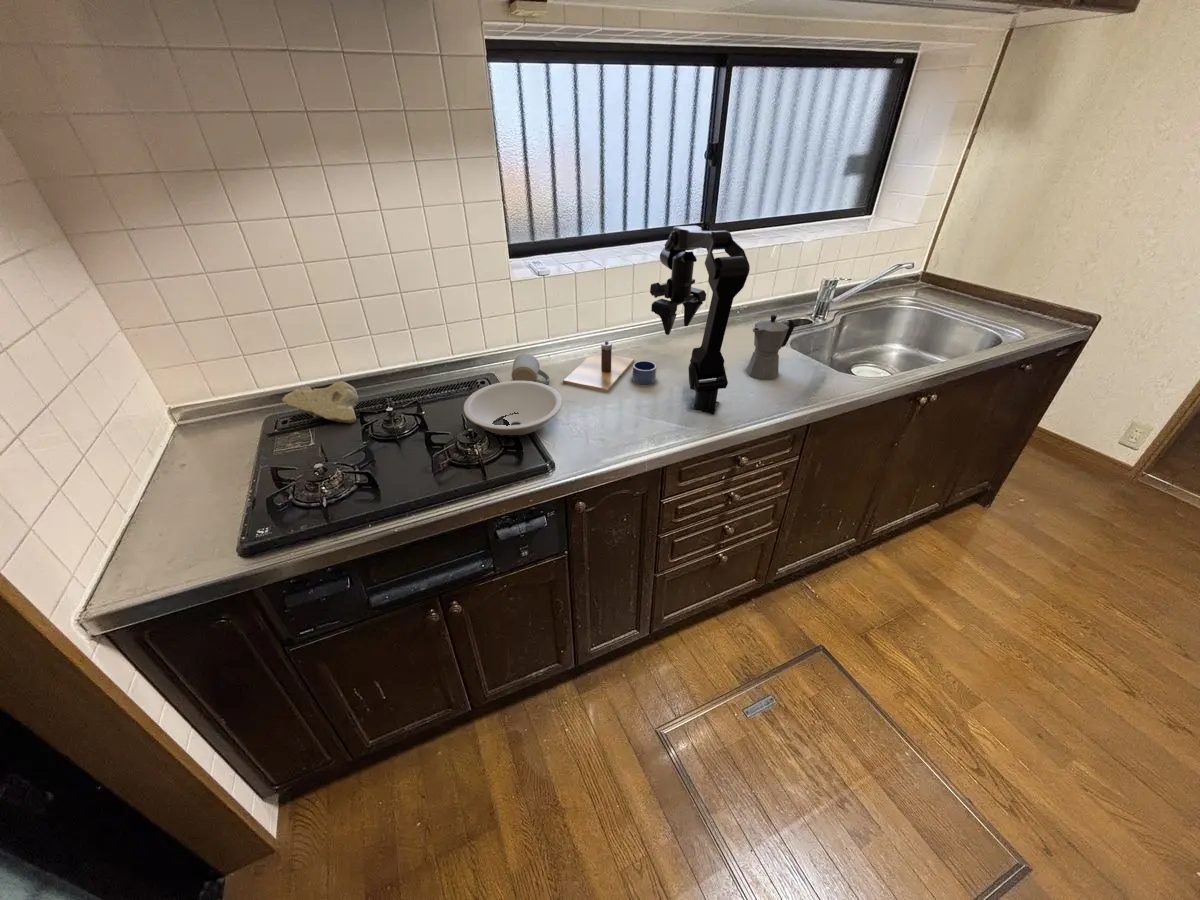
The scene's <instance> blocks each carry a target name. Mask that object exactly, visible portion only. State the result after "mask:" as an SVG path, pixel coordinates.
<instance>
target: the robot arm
mask: <svg viewBox="0 0 1200 900" xmlns="http://www.w3.org/2000/svg"><path fill="white" fill-rule="evenodd" d="M696 249H697V250H698V249H706V251H707V253H706V257H705V261H704V267H705V269H706V271H707V272H706V273H707V275H708V280H707V282H708V284H709V287H710V289H711V292H712V293H711V299H710V302H709V303H710V304H709V309H708V313H707V317H706V321H705V327H704V332H703V336H702V341H701V345H700V346H699V347H694V348H693V349H692V351H691V356H690V360H689V362H690V363H689V364H688V383H689V384H688V385H689V388H690V390H693V391H694V392H695V394H694V399H693V402H692V404H691V405H690V410H693V411H699V412H701V413H705V414H709V415H715V414H716V411H717V409H718V407H719V405H720V402H719V401H718V395H719V394H718V393H719V390H721V389H722V390H723V389H727V387H728V384H729V381H728V376H727V373H726V369H725V359H724V356H723V354H722V352H721V351H722V346H723V342H724V338H725V335H726V331H727V330H726V329H727V327H728V322H729V319H730V318H729V317H730V314H731V310H732V307H733V302H734V298H735V297H736V296H737V295H738V294H739V293H740V292H741V291H742V290H743V288H744V287H745V284H746V283H747V280H748V276H749V274H750V270H751V268H750V267H751V266H750V263H749V261H748V258H747V255H746V252H745V250H744V249H743V247H742V246H740V244H738V243H737V242H736V241H735V240H734V239H733V236H732V234H731V231H728V230H703V228H702V227H701V226H699V225H679V226H674V227H673V228H672V230H671V232H670V233H669V236H668V238H667V240H666V242H665V243H664V247H663V249H661V251H660V253H659V260H660V262H661V264H662V265H663V266H665V267H666V268H667V269H669V270H670V271H671V277H670V278H668V279H666V282H663V283H660V282H653V283H651V284H650V288H649V293H650V295H651V296H653V297H654V299H657V298H658V297H664V298H659V299H657V300H655V301H653V302H652V303H651V307H650V310H651V312H652V313H654V314H655V315H657V316H659V317H660V320H661V324H662V327H663V331H664V334H665V335H666V336H669V335H671V331H672V329H673V327H674V326H673V325H674V323H675V320H676V318H677V316H678V314H677V310H678V306H680V305H682V306H683V326H684V327H689V325H690V323H691V322H692V320H693V318H694V316H695V315H696V314H697V312H698V311H699V309H700V307H701V306H702V305H703V304H704V302H705V301H706V300H707V292H706V291H705V290H704V289H701V288H696V287H693V286H692V285H694V284H696V279H695V278H693V274H694V266H695V263H696V262H697V261H698V259H697V257H696V255H695V253H694V250H696ZM718 250H723V251H724V252H725V253H726V254H727V255H728V256H720V257H715V255H714V253H713V252H714V251H718ZM668 299H669V300H668Z"/></svg>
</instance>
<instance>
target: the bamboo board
mask: <svg viewBox="0 0 1200 900" xmlns="http://www.w3.org/2000/svg"><path fill="white" fill-rule="evenodd" d="M634 363H635V358H632V357H626V356H625V357H624V356H620V355H615V354H614V355H613V354H612V358H611V372H608V373H605V372H602V371H601V352H596V351H593V352H592V353H590V355H588V357H586V358H585V359H584V360H583V361H582V362H581V363H580V364H579V365H577V367H576V368H575V369H573V371H572V372H570V373H569V374H568V375H567V376H566V377H565V378H564V379H563V380H562V383H563V385H566V384H567V385H573V386H578V387H583V388H588V389H592V390H597V391H603V392H606V393H607V392H609V391H610V390H611V389H612V387H614V385H615V384H616V383H617V382H618V381H619V380H620V378H621V377H622V376H623V375H624V374H625V372H626V371H627V370H628V369H629V368H630V367H631V365H633V364H634Z"/></svg>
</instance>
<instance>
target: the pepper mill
mask: <svg viewBox="0 0 1200 900" xmlns="http://www.w3.org/2000/svg"><path fill="white" fill-rule="evenodd" d="M612 348H613V343H612V342H611V341H608V340H605V341H602V342H601V343H600V349H601V350H600V351H601V352H600V353H601V371H602V372H605V373H608V372H611V358H612V355H613V354H612V353H613V350H612Z"/></svg>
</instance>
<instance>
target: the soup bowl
mask: <svg viewBox="0 0 1200 900" xmlns="http://www.w3.org/2000/svg"><path fill="white" fill-rule="evenodd" d="M562 406H563V399H562V395H561V394H560V393H559V391H557V390H556V389H555V388H553V387H552V386H549V385H548V384H547V385H545V384H542V383H538V382H532V381H513V380H508V381H500V382H496V383H493V384H489V385H486V386H484V387H481V388H479V389H477V390H476V391H474V392H473V393H471V394H470V395H469V396H468V397H467V399H466V400H465V401H464V404H463V413H464V416H465V417H466V418H467V419H468V420H469V421H470V422H471V423H473V424H475V425H477V426H479V427H481V428H482V429H484V430H485V431H487V432H490V433H492V434H494V433H495V434H494V435H498V434H499V436H503V435H519V436H524V435H528V434H532V433H533V432H536V431H537V430H539V429H541V428H542V427H544V426H545V425H546V424H548V422H549V421H550V420H551V419H552V418H554V417H555V416H557V414H558V413H559V412H560V411H561V408H562ZM514 412H515V413H517V412H518V413H519V414H513V415H509V414H510V413H511V414H512V413H514ZM505 415H509V416H506V417H504V418H503V419H505V420H507V421H508V422H509V424H510V425H508V426H506V425H494V424H492V423H493V421H494V420H496V419H497V418H499V417H501V416H505ZM515 423H517V424H515ZM518 423H519V424H518ZM512 424H513V425H512Z"/></svg>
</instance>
